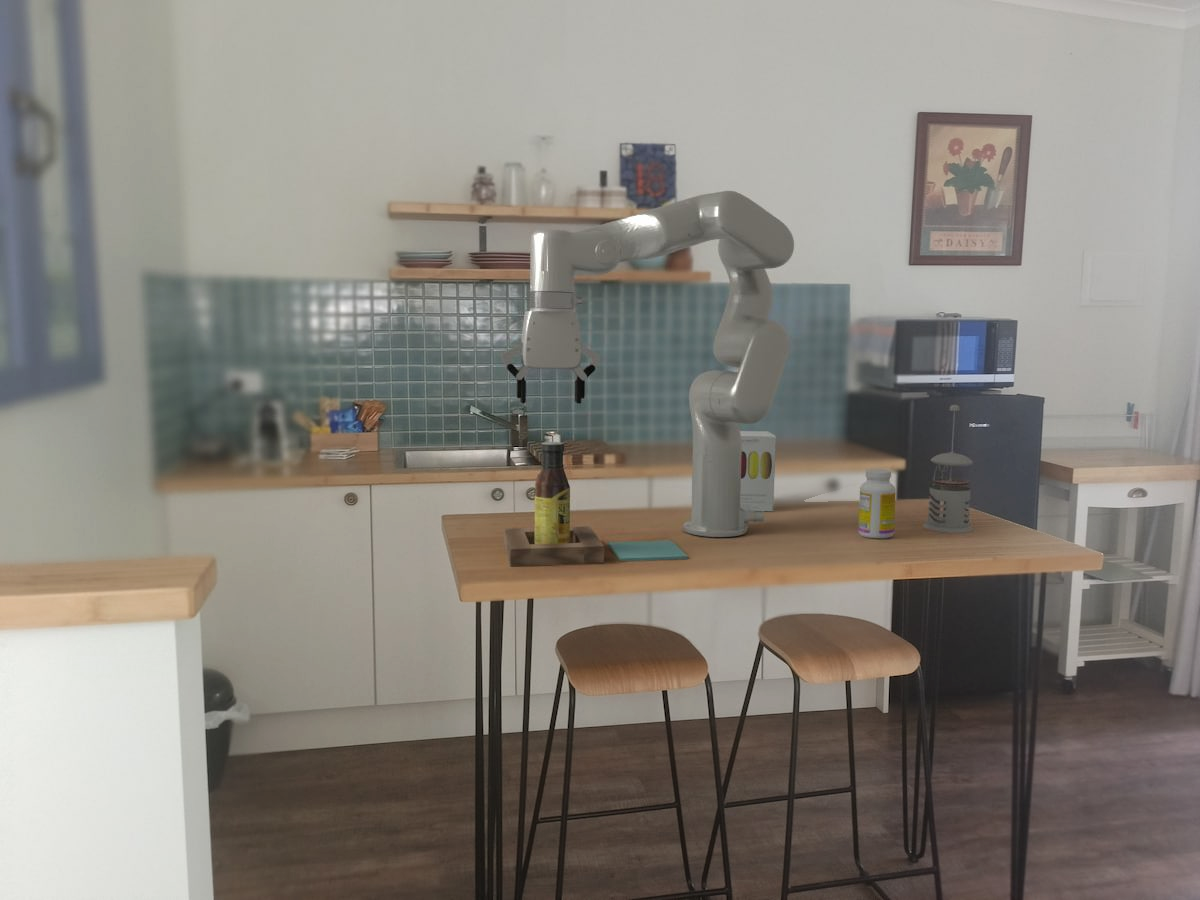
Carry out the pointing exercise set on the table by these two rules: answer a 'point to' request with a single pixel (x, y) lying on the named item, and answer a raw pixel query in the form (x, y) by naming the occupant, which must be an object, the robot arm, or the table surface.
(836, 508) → the table surface
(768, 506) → the supplement box
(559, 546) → the pocket block
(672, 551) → the teal mat
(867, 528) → the supplement bottle
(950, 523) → the french press
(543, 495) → the sauce bottle
